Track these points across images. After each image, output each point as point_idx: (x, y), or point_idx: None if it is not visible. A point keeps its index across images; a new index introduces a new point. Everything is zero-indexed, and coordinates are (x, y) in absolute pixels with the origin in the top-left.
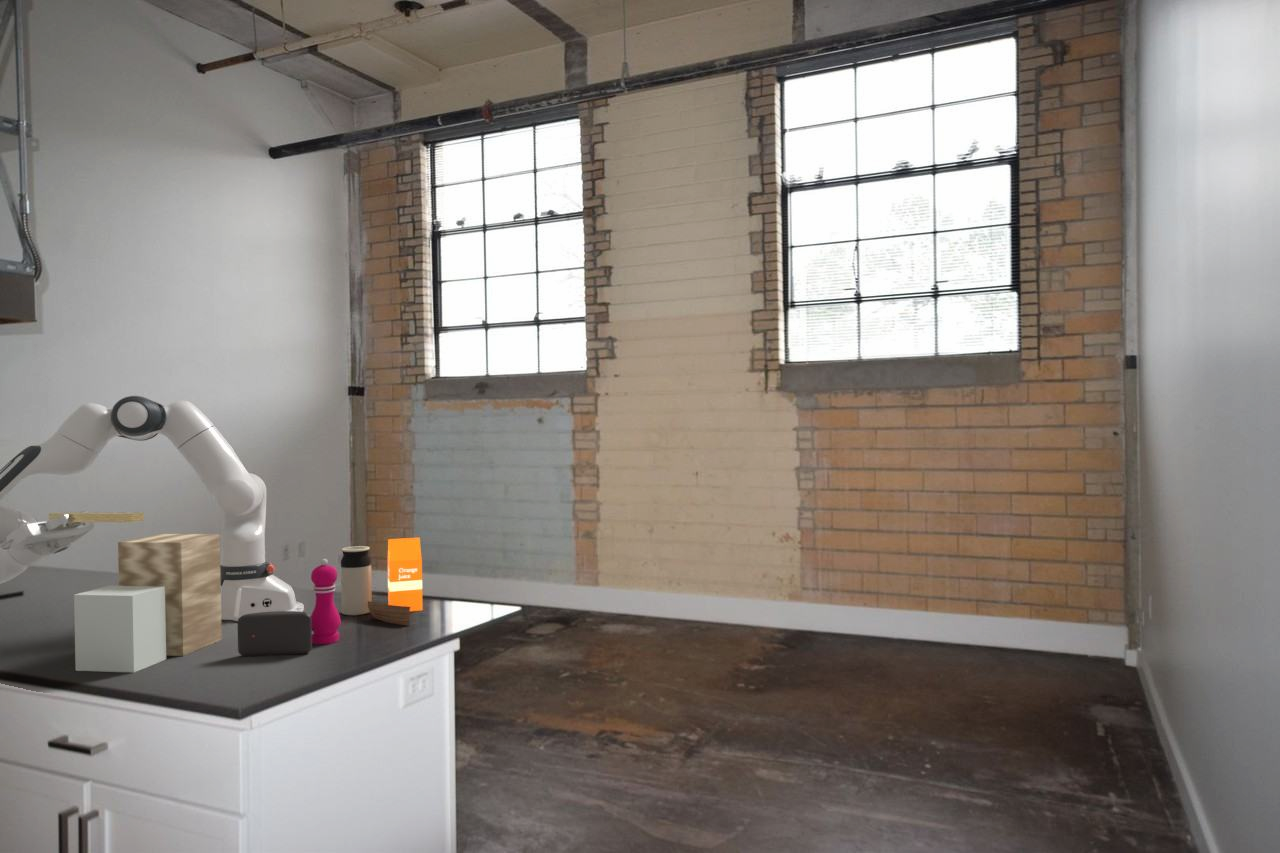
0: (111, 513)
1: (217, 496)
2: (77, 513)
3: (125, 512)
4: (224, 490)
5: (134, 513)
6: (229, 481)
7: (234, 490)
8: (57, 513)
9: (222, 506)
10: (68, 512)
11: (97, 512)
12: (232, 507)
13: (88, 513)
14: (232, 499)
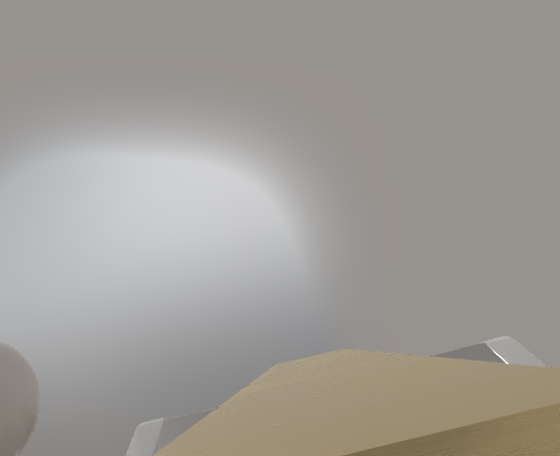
0: (334, 355)
1: (2, 397)
2: (378, 360)
3: (285, 365)
4: (21, 371)
5: (324, 353)
6: (6, 345)
7: (33, 372)
8: (481, 372)
9: (14, 434)
10: (284, 408)
11: (285, 374)
12: (31, 432)
13: (358, 358)
14: (39, 400)
